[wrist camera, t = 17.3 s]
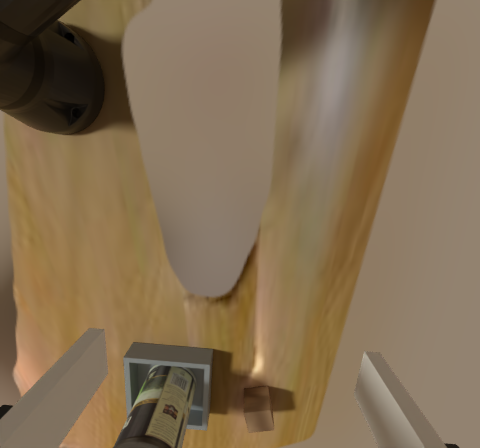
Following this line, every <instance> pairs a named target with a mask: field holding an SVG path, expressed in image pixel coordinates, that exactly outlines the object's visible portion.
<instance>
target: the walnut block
mask: <svg viewBox="0 0 480 448" xmlns="http://www.w3.org/2000/svg"><path fill="white" fill-rule="evenodd" d="M244 415H245V420H246V424H247V428H248V432H249V433H252V432H261V431H271V430H274V421H273V412H272V403H271V398H270V393H269V388H268V386H262V387H253V388H245V389H244Z"/></svg>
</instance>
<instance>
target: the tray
mask: <svg viewBox="0 0 480 448" xmlns="http://www.w3.org/2000/svg"><path fill="white" fill-rule="evenodd" d="M212 360H213V349H207V348H195V347H183V346H171V345H160V344H148V343H136V342H133V344H132V345H131V347H130V348H129V350H128V351H127V353H126V354H125V356H124V374H125V390H126V406H127V418H128V416H129V414H130V412H131V410H132V407H133V405H134V403H135V401H136V399H137V397H138V395H139V393H140V391H141V388H142V386H143V384H144V382H145V380H146V378H147V375H148V373H149V371H150V369H151V368H152V367H153V366H155V365H165V366H176V367H188V368H189V369H190V370H191V371H192V372H193V374H194V375H195V378H196V384H197V385H196V389H195V392H194V396H193V401H192V405H191V409H190V414H189V418H188V422H187V427H186V429H197V430H207V426H208V419H209V413H210V398H211V379H212Z"/></svg>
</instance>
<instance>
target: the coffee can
mask: <svg viewBox="0 0 480 448" xmlns="http://www.w3.org/2000/svg"><path fill="white" fill-rule="evenodd" d="M196 385H197V384H196V378H195V375H194V374H193V372H192V371H191V370H190V369H189V368H188V367H176V366H165V365H155V366H153V367H152V368H151V369H150V371H149V373H148V375H147V378H146V380H145V382H144V384H143V386H142V388H141V391H140V393H139V395H138V397H137V399H136V401H135V403H134V405H133V407H132V410H131V412H130V414H129V416H128V418H127V420H126V422H125V424H124V426H123V428H122V430H121V433H120V435H119V437H118V439H117V441H116V443H115V445H114V447H113V448H182V444H183V440H184V435H185V431H186V427H187V422H188V418H189V414H190V409H191V405H192V401H193V396H194V392H195V389H196Z"/></svg>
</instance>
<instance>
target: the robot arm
mask: <svg viewBox="0 0 480 448" xmlns="http://www.w3.org/2000/svg"><path fill="white" fill-rule="evenodd" d="M79 1H81V0H0V110H1V111H3V112H5V113H6V114H8V115H10V116H12V117H14V118H15V119H17V120H19V121H21V122H23V123H24V124H26V125H28V126H30V127H32V128H34V129H37V130H40V131H44V132H49V133H55V134H72V133H76V132H79V131H81V130H83V129H85V128H86V127H87V126H89V125H90V124H91V123H92V122H93V121H94V119H95V118H96V117H97V115H98V113H99V111H100V109H101V106H102V103H103V98H104V79H103V74H102V70H101V67H100V64H99V62H98V59H97V57H96V55H95V54H94V52H93V51H92V49H91V48H90V46H89V45H88V44H87V43H86V42H85V40H84V39H83V38H81V37H80V36H79V35H78V34H77V33H75V32H74V31H73V30H72V29H70V28H69V27H68V26H66V25H65V24H63V23H62V22H60V21H58V19H59V18H60V17H61V16H62V15H64V14H65V13H66V12H67V11H68V10H70V9H71V8H72V7H73V6H75V5H76V4H77V3H78V2H79ZM107 374H108V366H107V354H106V342H105V330H104V329H95V328H89V329H88V330H87V331H86V332H85V333H84V334H83V335H82V336H81V337H80V338H79V339H78V340H77V341H76V342H75V343H74V345H73V346H72V347H71V348H70V349H69V350H68V351H67V352H66V353H65V354H64V355H63V356H62V357H61V358H60V359H59V360H58V361H57V362H56V363H55V364H54V365H53V366H52V367H51V368H50V369H49V370H48V371H47V372H46V373H45V374H44V375H43V376H42V377H41V378H40V379H39V380H38V381H37V382H36V383H35V384H34V385H33V387H32V388H31V389H30V390H29V391H28V392H27V393H26V394H25V395H24V396H23V397H22V398H21V399H20V400H19V401H18V402H17V403H16V404H15V405H14V406H10V405H2V406H1V407H0V448H58V447H59V446H60V444H61V443H62V441H63V440H64V438H65V437H66V435H67V434H68V432H69V431H70V429H71V428H72V426H73V425H74V423H75V422H76V420H77V419H78V417H79V416H80V414H81V413H82V411H83V410H84V408H85V407H86V405H87V404H88V402H89V401H90V400H91V398H92V397H93V395H94V394H95V392H96V391H97V389H98V388H99V386H100V385H101V383H102V382H103V380H104V379H105V377H106V376H107ZM354 396H355V398H356V400H357V403H358V405H359V407H360V409H361V411H362V413H363V416H364V418H365V420H366V422H367V424H368V427H369V429H370V431H371V433H372V435H373V437H374V439H375V441H376V444H377V446H378V448H459V447H458V446H457V445H456V444H444V443H443V441H442V440H441V438H440V437H439V436H438V434H437V433H436V431H435V430H434V429H433V427H432V426H431V424H430V423H429V421H428V420H427V419H426V417H425V416H424V415H423V413H422V412H421V410H420V409H419V407H418V406H417V404H416V403H415V402H414V400H413V399H412V397H411V396H410V395H409V393H408V392H407V391H406V389H405V388H404V386H403V385H402V383H401V382H400V381H399V379H398V378H397V376H396V375H395V373H394V372H393V371H392V369H391V368H390V366H389V365H388V364H387V362H386V361H385V359H384V358H383V357H382V355H381V354H380V353H377V352H366V351H365V352H364V355H363V359H362V363H361V367H360V371H359V375H358V379H357V384H356V388H355V392H354Z"/></svg>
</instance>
